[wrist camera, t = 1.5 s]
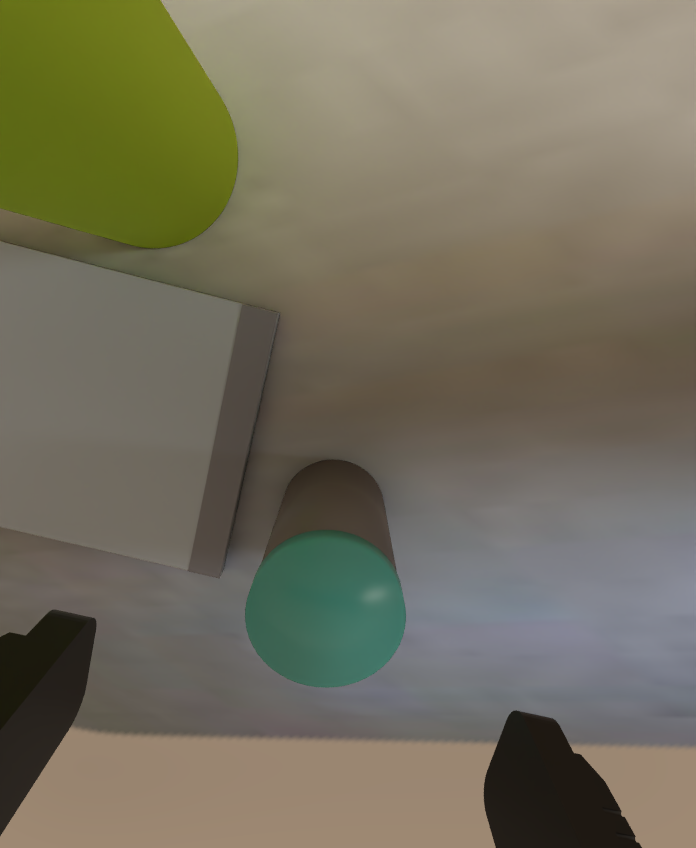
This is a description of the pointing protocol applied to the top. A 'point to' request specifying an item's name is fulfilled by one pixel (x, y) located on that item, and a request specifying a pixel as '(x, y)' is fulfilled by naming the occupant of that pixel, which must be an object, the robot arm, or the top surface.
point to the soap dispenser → (110, 122)
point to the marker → (328, 581)
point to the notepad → (125, 409)
